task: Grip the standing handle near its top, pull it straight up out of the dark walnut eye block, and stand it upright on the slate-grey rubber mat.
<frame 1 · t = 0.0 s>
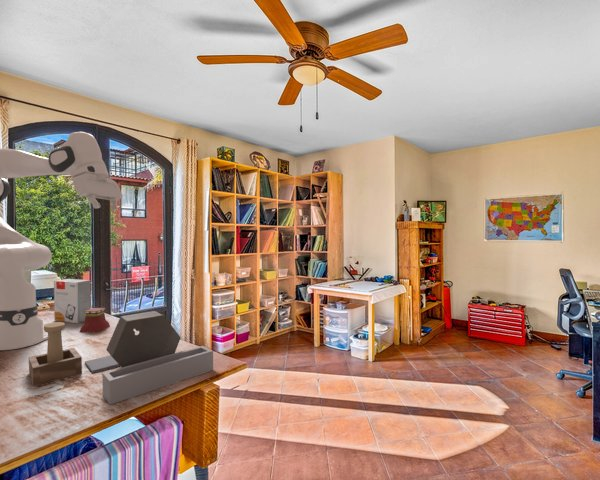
hand: (106, 208, 120), 52 cm above the table, tool tilted 20°, fingers open, 8 cm apart
eye block: (55, 373, 98), on the table
planter: (145, 371, 100), on the table
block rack: (162, 381, 92), on the table
hard drive box: (73, 320, 159), on the table
red drawstring pouch: (95, 330, 144), on the table
handle: (55, 374, 98), resting in eye block
mat: (106, 363, 105), on the table
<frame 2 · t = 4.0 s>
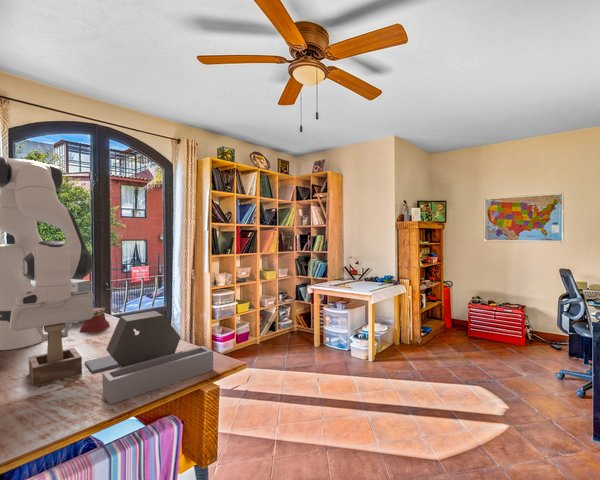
hand: (54, 338, 98), 11 cm above the table, tool pointing down, fingers closed on handle, 3 cm apart
handle: (55, 374, 98), resting in eye block, touching gripper
everything else where it was.
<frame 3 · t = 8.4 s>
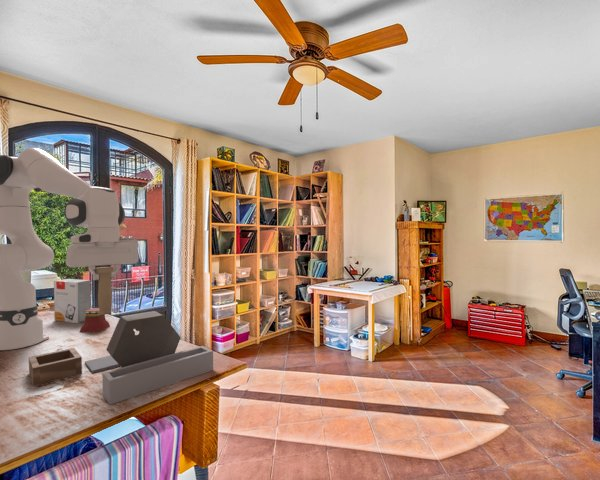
hand: (104, 279, 105), 28 cm above the table, tool pointing down, fingers closed on handle, 3 cm apart
handle: (105, 314, 105), point 16 cm above the table, touching gripper
everything else where it was.
when the fingers open (12 cm above the table, at t = 13.0 s): handle stays where it is, resting on mat.
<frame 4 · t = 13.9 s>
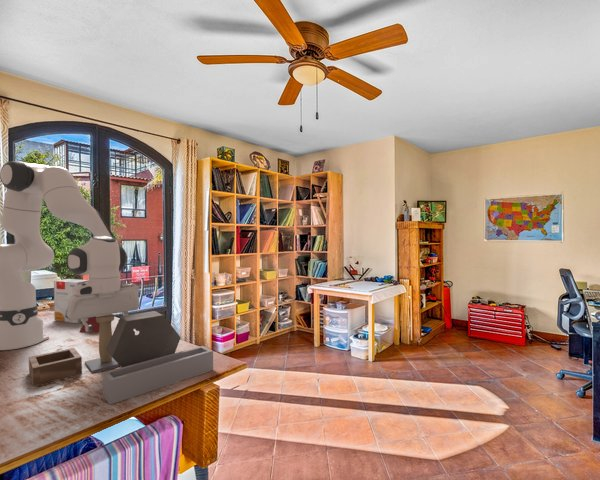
hand: (105, 328, 105), 12 cm above the table, tool pointing down, fingers open, 8 cm apart
handle: (106, 362, 105), point 1 cm above the table, touching mat
everything else where it was.
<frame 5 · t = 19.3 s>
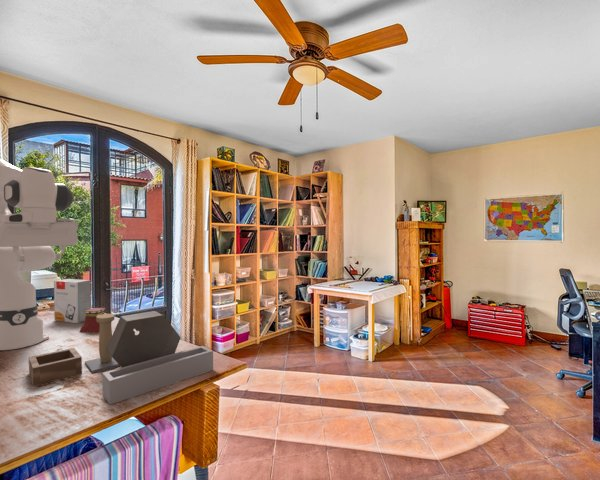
hand: (40, 260, 104), 34 cm above the table, tool pointing down, fingers open, 8 cm apart
nothing on the table moved.
at the end: handle inside the target area on the mat (0.0 cm from its centre), point 0.6 cm above the mat's base; handle tilted 0°; handle touching mat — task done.
